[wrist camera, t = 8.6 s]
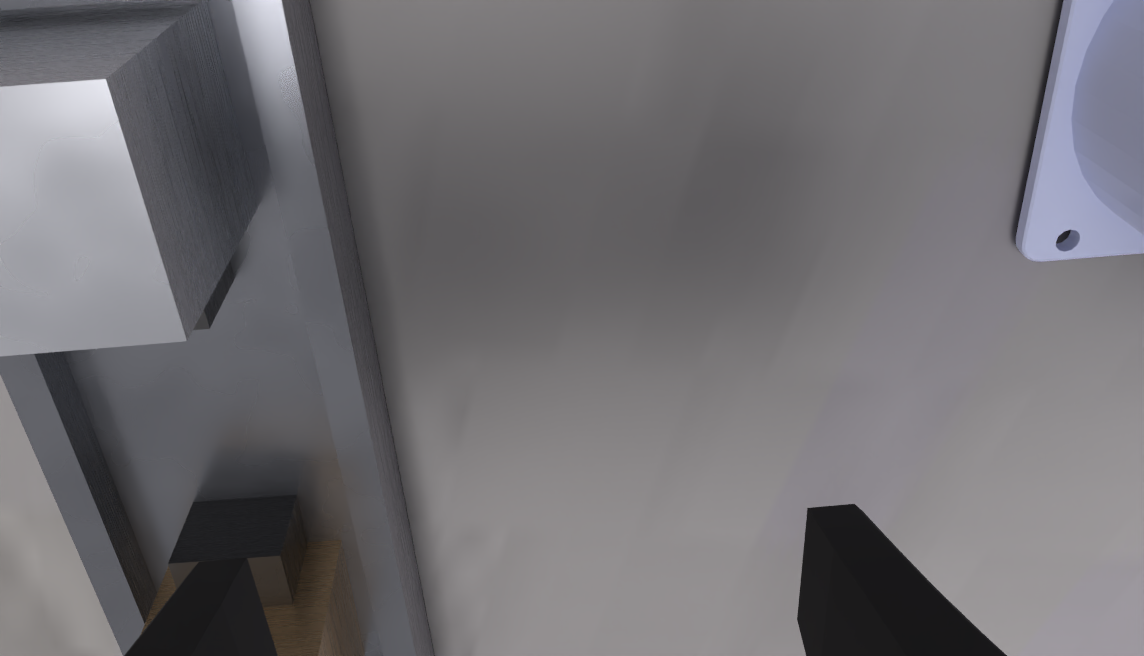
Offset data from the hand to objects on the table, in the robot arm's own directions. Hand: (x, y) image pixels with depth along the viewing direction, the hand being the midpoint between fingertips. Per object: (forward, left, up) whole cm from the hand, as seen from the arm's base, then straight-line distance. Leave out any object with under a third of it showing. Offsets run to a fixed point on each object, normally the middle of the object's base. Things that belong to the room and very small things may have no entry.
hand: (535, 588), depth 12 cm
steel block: (+7, -4, -9) cm, 12 cm away
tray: (+7, +3, -10) cm, 12 cm away
